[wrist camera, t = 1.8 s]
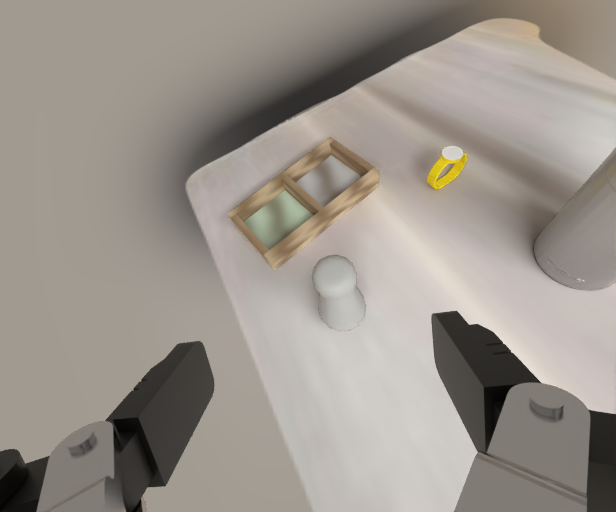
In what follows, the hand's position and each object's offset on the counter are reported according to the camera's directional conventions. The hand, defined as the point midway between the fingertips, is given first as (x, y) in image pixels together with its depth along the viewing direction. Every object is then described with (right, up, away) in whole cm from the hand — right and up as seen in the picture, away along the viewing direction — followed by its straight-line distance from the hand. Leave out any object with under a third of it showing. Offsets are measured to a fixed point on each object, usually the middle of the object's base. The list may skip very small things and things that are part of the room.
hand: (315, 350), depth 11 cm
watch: (+20, +14, +37) cm, 44 cm away
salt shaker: (+4, -4, +30) cm, 31 cm away
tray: (-1, +11, +39) cm, 41 cm away
